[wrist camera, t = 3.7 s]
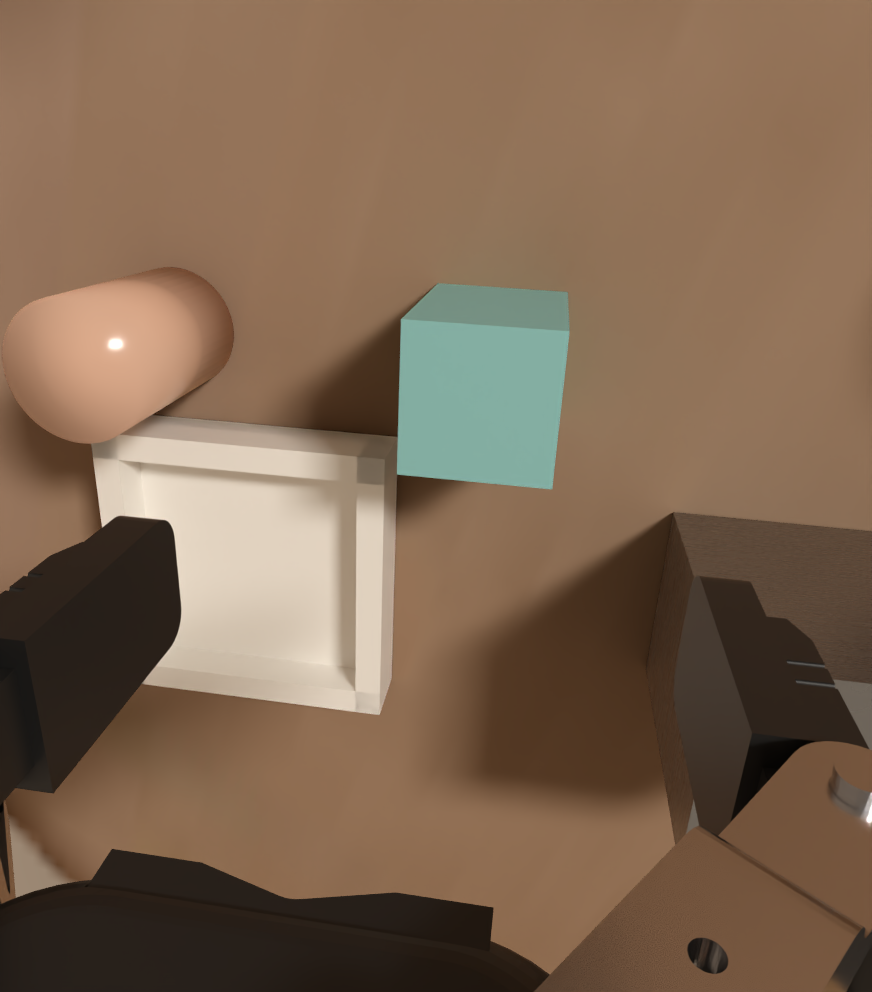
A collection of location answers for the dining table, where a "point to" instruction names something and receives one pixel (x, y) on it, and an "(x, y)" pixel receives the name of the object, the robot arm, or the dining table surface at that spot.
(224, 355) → the peach capsule
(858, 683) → the box
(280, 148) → the dining table surface
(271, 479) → the tray
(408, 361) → the teal block
